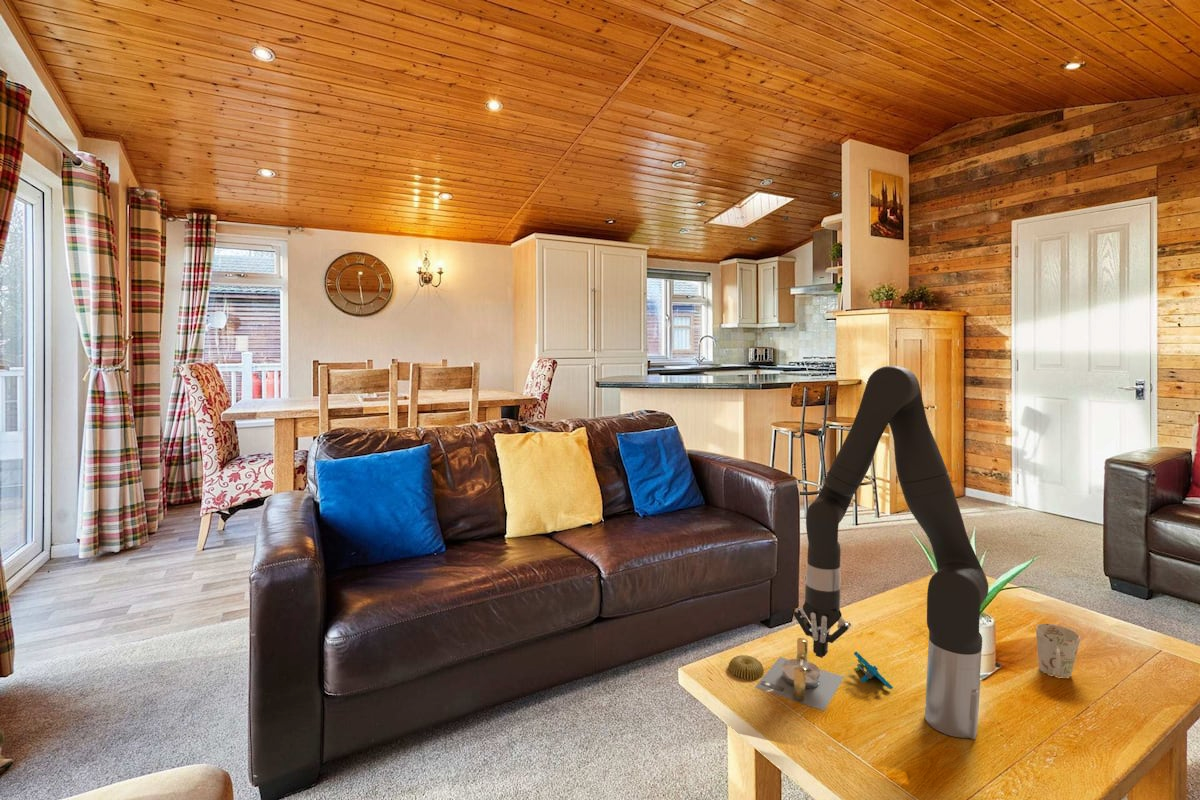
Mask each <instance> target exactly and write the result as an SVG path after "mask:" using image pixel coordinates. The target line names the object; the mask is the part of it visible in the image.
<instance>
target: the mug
mask: <svg viewBox="0 0 1200 800" xmlns="http://www.w3.org/2000/svg"><path fill="white" fill-rule="evenodd" d="M1035 634H1036V647H1037V658H1038V669H1039V671H1041V672H1042V671H1043V672H1044V673H1043V672H1042V673H1043V674H1045V673H1047V674H1049V675H1053V676H1057V677H1063V678H1067V677H1070V676H1071V677H1072V673H1073V670H1074V666H1075V662H1076V658H1077V654H1078V650H1079V646H1080V642H1081V636H1080V634H1079V633H1078V632H1077V631H1075V630H1073V629H1071V628H1068V627H1065V626H1062V625H1057V624H1053V623H1052V624H1051V623H1040V624H1037V625H1036V626H1035ZM1047 674H1046V675H1047ZM1049 675H1048V676H1049ZM1071 677H1070V678H1071Z"/></svg>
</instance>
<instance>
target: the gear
mask: <svg viewBox="0 0 1200 800" xmlns="http://www.w3.org/2000/svg"><path fill="white" fill-rule="evenodd" d="M853 655H854V656H855V657H856V658H857V660H856V661H857V662H858V663H857V664H856V669H855V671H861V672H863V673H864V675H863V676H862V677H861V678H860V679H859V681H860V682H861V683H862V682H863V683H865V682H867V681H868V680H869V679H870V680H871V679H872V678H873V677H876V678H877V679H878V680H880V682H881V683H882V684H883V685H884V686H886V687H887V688H888V689H892V688H894V687H893V685H892V684H890V683H889V681H887V679H885V677H884V676H882V675H881V674H880V673H879V668H878V667H877V666H876V665H872V664H870V663H869V662H868V661H867V660H866V659H865V658H864V657H863V656H862V655H861V654H860V653H858V652H857V651H855V652H853Z"/></svg>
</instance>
